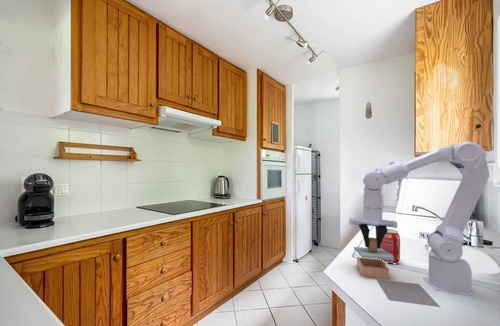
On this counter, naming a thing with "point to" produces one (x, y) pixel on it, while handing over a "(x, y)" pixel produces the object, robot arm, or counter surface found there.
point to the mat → (406, 292)
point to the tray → (372, 268)
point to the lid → (373, 251)
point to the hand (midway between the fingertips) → (372, 247)
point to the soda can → (391, 245)
